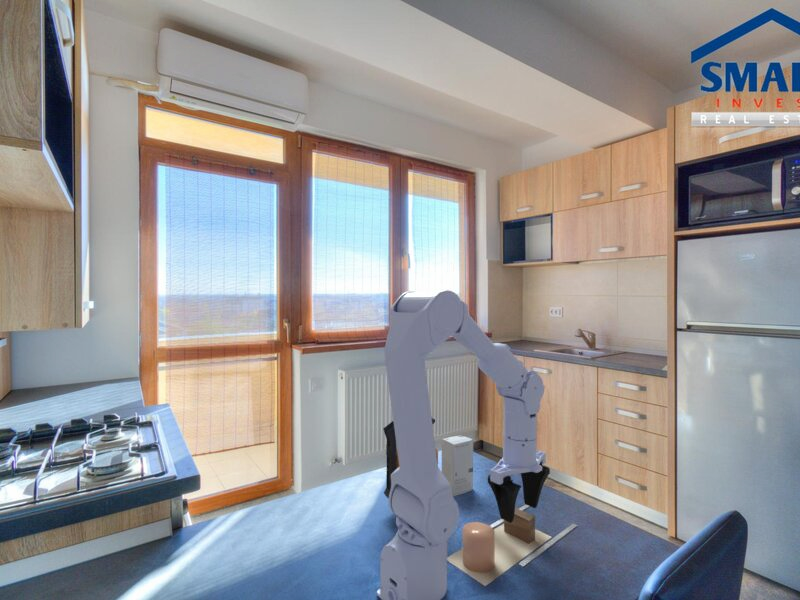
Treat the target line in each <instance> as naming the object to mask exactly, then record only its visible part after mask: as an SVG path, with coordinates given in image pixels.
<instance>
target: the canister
mask: <svg viewBox="0 0 800 600" xmlns="http://www.w3.org/2000/svg"><path fill="white" fill-rule="evenodd" d="M431 418H432V425H434V424H435V422H436V419H435V418H433V417H432V416H431ZM382 430H383V433H384V435H385V438H386V445H385V446H386V447H385V448H386V449H385V455H386V475H385V476H386V481H385V483H386V487H385V489H384V491H383V494H384V495H385V496H386V498H387V499H389V494H390V490H391V474H392V473H393V472H394V471H395V470H396V469H397V468H398V467H399V459H398V452H397V444H396V437H395V429H394V422H393V420H392V421H391V422H390V423H388V424H387V425H386V426H385V427H383V429H382ZM434 442H435V443H436V437H434ZM435 450H436V458H437V465H438V466H439V451H438V449H437V447H435Z"/></svg>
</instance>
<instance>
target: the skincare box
mask: <svg viewBox="0 0 800 600" xmlns="http://www.w3.org/2000/svg"><path fill="white" fill-rule="evenodd" d="M440 470H441V472H442V473H443V475H444V476H445V478H446V479H447V481H448V482H449V484H450V486H451V493H452V496H453V497H456V496H459V495H462V494H465V493H469V492H471V491H473V490H474V439H472V438H470V437H467V436H464V435H462V434H461V435H454V436H450V437H445V438H442V439H441V469H440Z"/></svg>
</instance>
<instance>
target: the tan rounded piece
mask: <svg viewBox="0 0 800 600" xmlns="http://www.w3.org/2000/svg"><path fill="white" fill-rule="evenodd" d="M494 529H495V528H492V527H490V525H489V524H487V523H484V522H479V521H473V522H468V523H465V524H464V525H463V527H462V548H463V564H464V566H465V567H466V568H468V569H469V570H471V571H474V572H478V573H486V572H489V571H491V570H492V569H493V568H494V566H495V532H494Z"/></svg>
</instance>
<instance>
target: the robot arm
mask: <svg viewBox="0 0 800 600" xmlns="http://www.w3.org/2000/svg"><path fill="white" fill-rule="evenodd" d="M388 310H389V318H390V319H389V321H390V325H389V329H388V333H387V336H386V337H387V338H386V341H385V345H384V360H385V361H384V362H385V368H386V375H387V381H388V382H387V383H388V390H389V396H390V406H391V413H392V414H391V415H392V421H393V422H394V429H395V437H396V444H397V452H398V459H399V467H398V468H397V469H396V470H395V471H394V472H393V473H392V474H391V490H390V494H389V498H388V508H389V509H390V512H391V513H392V514H393V515H394V516H395V525H396V526H397V530H396V531H397V532H396V534H395V536H394V537H393V538H392V539H391V540H390V541H389V542H388V543H387V544H386V545H384V546H383V548H381V552H380V557H379V558H380V560H379V561H380V564H379V565H380V566H379V567H380V569H379V572H380V574H379V575H380V576H379V577H380V579H379V588H378V590H377V591H376V595H377V597H378V598H380V599H381V600H442V598H443V599H444V597H445V596H446V594H447V591H448V561H447V557H448V540H450V539H451V537H452V535H453V534H454V533H455V531H456V529H457V527H458V523H459V519H460V509H459V505H458V502H457V501H456V500H455V498H454V496H452V493H451V486H450V484H449V482H448V481H447V479H446V478H445V476H444V475H443V473H442V472H441V470H442V469H440V468H439V464H438V465H437V458H436V450H435V448H436V441H435V442H434V438H435V436H434V435H435V434H434V429H433V427H434V426H433V424H432V418H433V417H432V411H431V410H432V409H431V403H430V402H431V401H430V396H429V387H428V380H427V379H428V378H427V372H426V363H425V362H426V359H427V358H428V356H429V355H430V353H432V352H434V351H435V350H436V349H437V348H439V346H441V345H443V343H445V342H446V341H447V340H448V339H450V337H452V338H453V339H454V340H456V341H457V342H459V343H460V344H461V345H462V346H463V347H465V349H467V350H468V351H469V352H470V353H472V355H474V356H475V357H477V366H478V368H479V369H480V371H481V372H482V373H484V374H485V375H486V376H487V377H488V378H489V379H490V380H491V381H492V382H493V383H494V384H495V388H496V392H497V394H498V395H499V396H501V397H503V419H502V420H503V425H502V426H503V428H502V429H503V433H502V438H503V439H502V442H503V443H502V450H503V451H502V458H500V460H499V461H498V463H497V464H496V465H495V466H494V467H493V468H491V469H489V471H490V472H489V473H490V474H489V475H487V483H488V485H489V486H490V489H491V490H492V493H493V495H494V497H495V501H496V503H497V508H498V513H499V516H500V519H503V520H505V521H507V522H509V523H511V522H513V519H514V513H515V508H516V503H517V498H518V495H519V492H520V490H521V488H522V490H523V491H522V492H523V501H524V504H525V505H528V506H530V507H531V508H532V509H536V508H537V507H538V505H539V501H540V496H541V494H542V491H543V490H542V489H543V488H544V487H543V486H544V484H545V482H546V479H547V478H548V477H549V475H550V474H551V471H550V468H549V467H548V466H546V465H544V464H546V461H547V459H546V456H547V455H546V454H547V453H546V452H544V451H541V450H537V446H538V444H537V441H538V440H537V437H538V436H537V435H538V434H537V433H538V428H537V427H538V425H537V423H538V421H537V420H538V413H539V412H540V410H541V402H542V400H543V399H542V398H543V396H544V394H545V387H546V385H545V384H544V382H543V379H542V377H541V376H540V375H539V374H538V372H537V371H534V370H532V369H528V368H527V367H526V366H525V364H524V362H523V361H522V360H520V359H518V358H517V357H516V356H515V354H513V353H512V351H510V350H511V347H510V346H509V345H508V344H506V343H501V342H493V341H492V340H491V339H490V338H489V337H488V335H487V333H485V332H484V331H483V329H482V328H481V327H480V326H479V324H478V323H477V322H476V321H475V320H474V319H473V318H472V316H471V315H470V314H469V306H468V304H467V303H465V302H464V301H463V300H462V299H461V298H460V297H459V295H458V294H457V293H456V292H454V291H452V290H448V289H447V290H440V291H420V292H419V291H417V292H416V291H405V292H403V293H401V294H400V296H398V298H397V299H396V300H395V301H394V303H392V305H391V306H390V308H388ZM431 417H432V418H431ZM518 474H520V476H521V483H522V485H520V484H517V483H516V482H514V480H513V479H512V477H514V476H516V475H518Z"/></svg>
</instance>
